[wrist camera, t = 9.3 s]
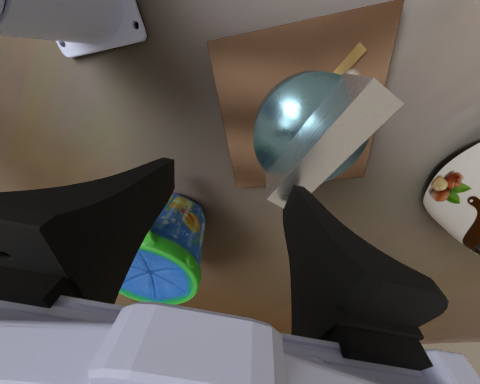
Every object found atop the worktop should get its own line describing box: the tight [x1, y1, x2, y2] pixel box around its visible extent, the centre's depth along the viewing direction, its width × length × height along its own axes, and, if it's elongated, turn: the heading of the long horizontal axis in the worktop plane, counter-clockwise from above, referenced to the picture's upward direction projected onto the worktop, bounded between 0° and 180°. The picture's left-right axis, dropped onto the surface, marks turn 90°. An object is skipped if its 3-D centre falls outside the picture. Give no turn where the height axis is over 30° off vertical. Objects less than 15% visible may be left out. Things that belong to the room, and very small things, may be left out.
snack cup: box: [119, 194, 205, 305], centre depth 23 cm, size 16×10×10 cm
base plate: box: [207, 0, 404, 188], centre depth 17 cm, size 14×14×4 cm
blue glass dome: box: [253, 69, 404, 209], centre depth 13 cm, size 9×8×6 cm
